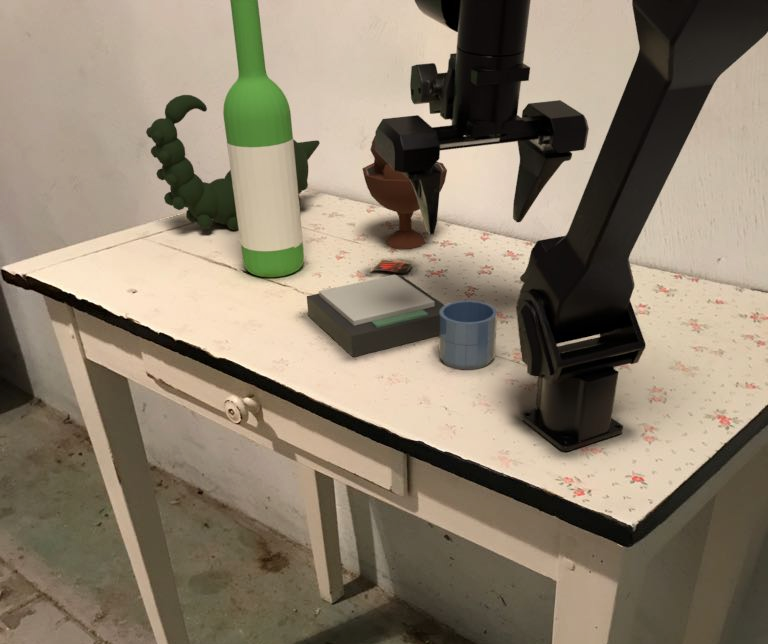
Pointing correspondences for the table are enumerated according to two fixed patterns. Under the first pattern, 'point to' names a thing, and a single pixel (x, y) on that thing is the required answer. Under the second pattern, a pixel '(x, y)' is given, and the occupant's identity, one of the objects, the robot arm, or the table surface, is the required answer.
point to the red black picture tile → (392, 266)
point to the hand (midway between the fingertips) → (474, 226)
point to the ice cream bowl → (396, 198)
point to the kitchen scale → (375, 314)
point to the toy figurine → (187, 186)
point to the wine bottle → (261, 156)
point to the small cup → (467, 334)
